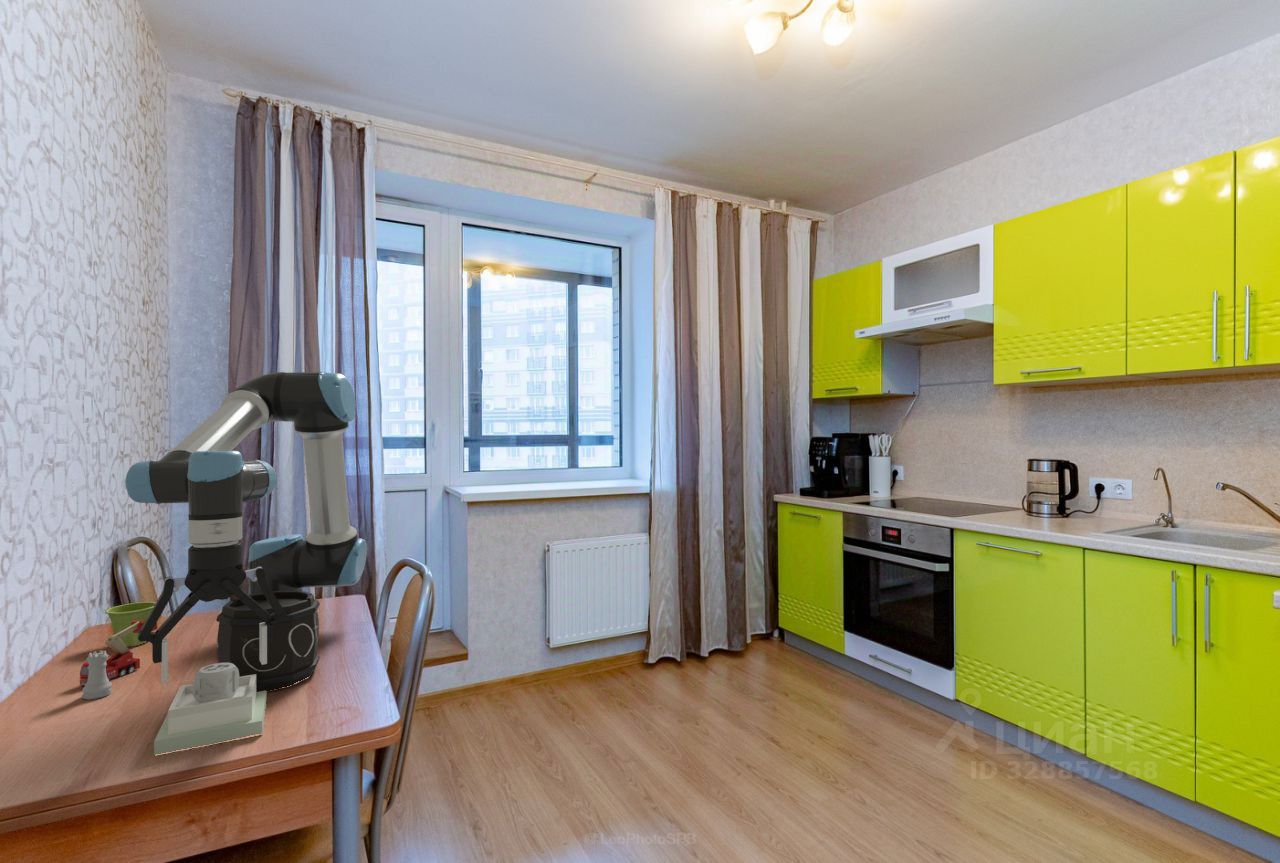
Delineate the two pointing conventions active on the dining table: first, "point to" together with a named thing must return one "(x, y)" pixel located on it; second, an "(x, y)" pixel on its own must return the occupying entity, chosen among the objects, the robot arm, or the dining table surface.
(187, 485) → the robot arm
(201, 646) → the dining table surface
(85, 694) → the rook chess piece
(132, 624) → the toy fire truck
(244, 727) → the tower base
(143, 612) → the plant pot
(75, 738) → the dining table surface
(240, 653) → the black bucket
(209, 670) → the die
